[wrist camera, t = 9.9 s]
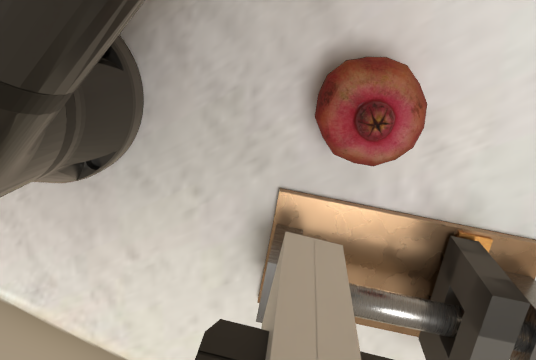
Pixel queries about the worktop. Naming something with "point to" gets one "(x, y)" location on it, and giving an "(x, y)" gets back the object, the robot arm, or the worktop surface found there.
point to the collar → (476, 306)
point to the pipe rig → (398, 263)
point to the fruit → (371, 110)
